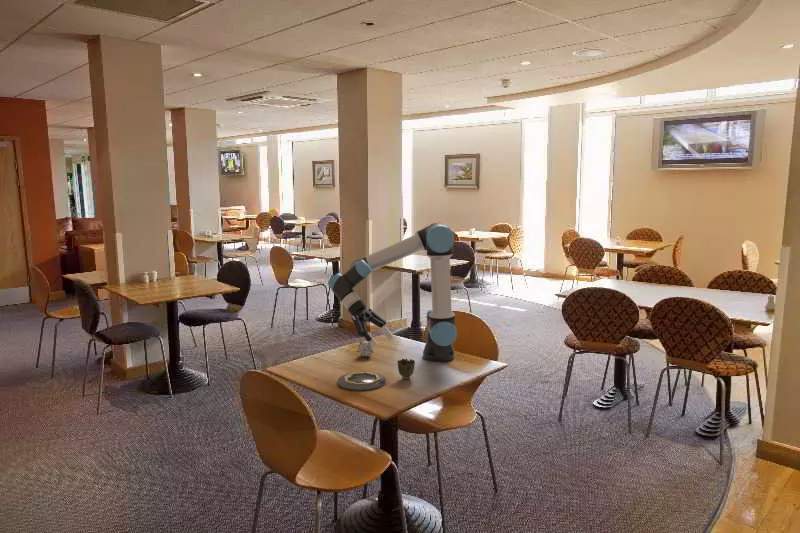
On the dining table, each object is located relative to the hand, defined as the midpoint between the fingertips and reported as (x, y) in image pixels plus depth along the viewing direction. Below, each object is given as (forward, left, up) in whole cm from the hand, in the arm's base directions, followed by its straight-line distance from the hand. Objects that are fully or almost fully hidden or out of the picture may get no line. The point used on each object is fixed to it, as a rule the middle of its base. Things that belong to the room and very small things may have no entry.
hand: (383, 342), depth 252 cm
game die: (+4, -28, -15) cm, 32 cm away
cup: (-8, +7, -15) cm, 18 cm away
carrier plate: (+11, +7, -15) cm, 20 cm away
